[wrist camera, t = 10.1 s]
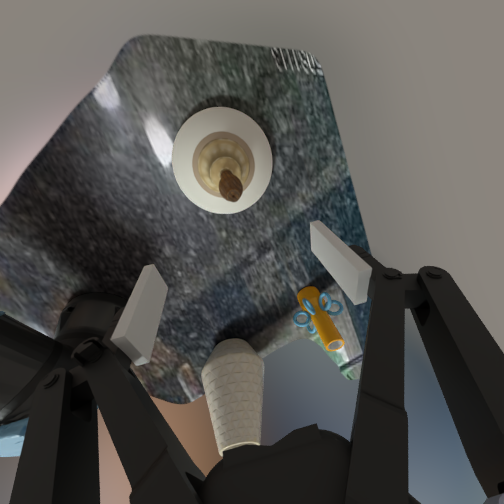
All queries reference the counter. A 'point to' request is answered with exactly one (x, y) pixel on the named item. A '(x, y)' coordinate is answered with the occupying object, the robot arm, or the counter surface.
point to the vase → (234, 393)
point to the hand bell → (224, 168)
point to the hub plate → (214, 127)
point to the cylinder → (320, 316)
